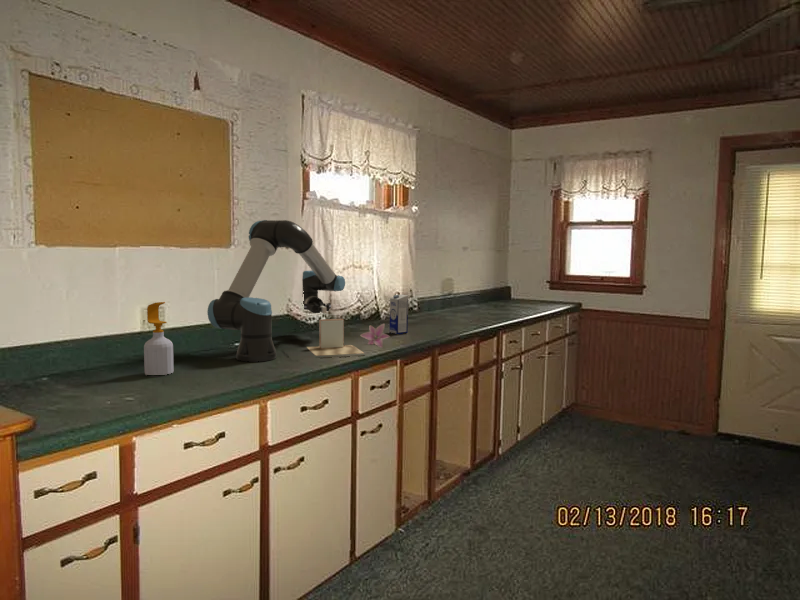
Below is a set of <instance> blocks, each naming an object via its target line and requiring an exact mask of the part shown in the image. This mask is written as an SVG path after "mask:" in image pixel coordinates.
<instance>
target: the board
mask: <svg viewBox="0 0 800 600" xmlns="http://www.w3.org/2000/svg"><path fill="white" fill-rule="evenodd" d="M306 349H308V350H309V351H310V353H312V354H313V355H314V356H317V357H318V356H319V357H320V356H327V357H321V359H333V358H332V357H333V356H336V355H337V356H338V355H340V358H351V357H350V356H351V355H356V354H361V355H359V357H365V355H362V354H365V352H363V351H362V350H361V349H359V348H358V347H356V346H355V345H352V344H345V345H344V348H323V349H320V348H319V345H318V346H306ZM342 355H344V356H342ZM345 355H346V356H345Z"/></svg>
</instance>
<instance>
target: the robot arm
mask: <svg viewBox="0 0 800 600" xmlns="http://www.w3.org/2000/svg"><path fill="white" fill-rule="evenodd" d="M248 234H249V235H248V241H249V246H250V247H249V250H248V252H247V254H246V256H245V257H244V260H243V262H242V263H241V265H240V267H239V268H238V270H237V273H236V274H235V277H234V279H233V281H232V282H231V284H230V286H229V288H228V289H227V290H224V291H222V293H221V295H220V297H219V298H215V299H213V300H211V301H210V302H209V304H208V305H207V311H206V312H207V313H206V314H207V317H208V318H207V319H208V321H209V323H210V324H211V325H212V326H213V327H214V328H216V329H221V330H233V331H240V341H239V344H238V347H237V351H236V360H237V361H240V360H241V362H247V361H249V362H252V363H254V362H257V363H258V361H259V362H269V361H272V360H276V358H277V350H276V347H275V344H274V342H273V338H272V334H273V333H272V329H273V327H272V325H273V324H272V323H273V322H272V315H273V311H272V304H271V302H270V301H269V300H267V299H265V298H259V297H251V294H252V292H253V289H254V288H255V286H256V284H257V282H258V279H259V278H260V276H261V274H262V272H263V271H264V269H265V268H264V267H266V264H267V262H268V260H269V258H270V257H272V256H274V255H275V254H276V252H277V250H278V248H288V249H291V250H292V251H293V252H294V253H295V254H297V255H299V256H300V257H301V258H302V259H303V262H305V263H306V264H307V266H308V267H309V268H310V270H304V271H303V272H302V280H301V281H302V295H303V294H304V301H303V304H304V307H303V310H307V311H309V312H311V314H320V313H322V314H327V312H329V311H330V310H331V309H332V308H331V307H332V305H331V303H330V302H328V303H324V302H323V300H322V299H321V298H319V291H326V292H342V291H344V289H345V286H346V278H345V277H344V276H343V275H337V274H336V273H335V272H334V270H333V269H332V268H331V266H330V265H329V264H328V263H327V260H325V258H324V257H323V256H322V254H321V253H320V252H319V250H318V249H317V247H316V246H315V245H314V243H313V242H314V240H313V238H312V237H311V236H310V234H309V233H308V232H307V230H305V229H304V228H302V226H300V225H299V224H297V223H295V222H293V221H291V220H287V219H286V220H285V219H284V220H283V219H282V220H277V219H276V220H270V219H269V220H267V219H263V220H257V221H255V222H253V224H252V225H251V226H250V228H249V230H248ZM303 291H304V292H303Z"/></svg>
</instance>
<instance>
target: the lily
mask: <svg viewBox="0 0 800 600" xmlns="http://www.w3.org/2000/svg"><path fill="white" fill-rule="evenodd" d="M385 325H386V324H385V323H382V324H380V325H378V326H377V327H376V328H375V327H374V326H373V325H369V326H368V327H369V328H368V330H369V331H365V332H363V333H361V334H360V337H361V338H363V339H366V340H368V341H367V345H374V344H375V345H376V346H377V347H378V348H380V349H383V348H384V347H383V346H384V343H383V341H384V340H385V339H388V338H390V337H391V336H390V335H389V334H387V333H384V331H385V328H386V327H385Z"/></svg>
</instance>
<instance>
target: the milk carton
mask: <svg viewBox="0 0 800 600" xmlns="http://www.w3.org/2000/svg"><path fill="white" fill-rule="evenodd" d="M408 315H409V295H407V294H395V295H393V296H392V297H389V333H390V332H391V333H390V334H392V333H395V334H394V335H396V334H399V335H404V334H403V333H408V332H409V331H408V327H409V326H408V325H409V324H408V321H409V319H408V318H409V316H408Z"/></svg>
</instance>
